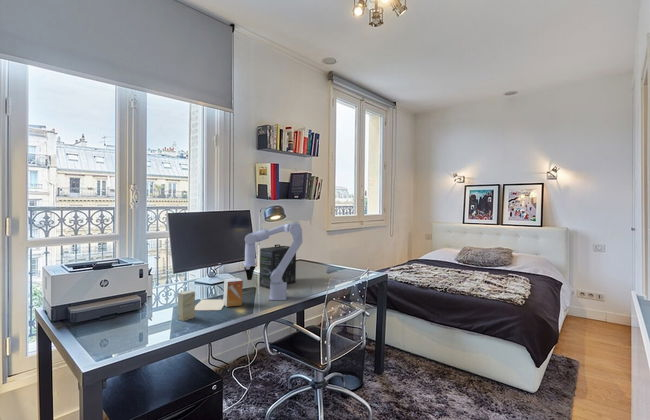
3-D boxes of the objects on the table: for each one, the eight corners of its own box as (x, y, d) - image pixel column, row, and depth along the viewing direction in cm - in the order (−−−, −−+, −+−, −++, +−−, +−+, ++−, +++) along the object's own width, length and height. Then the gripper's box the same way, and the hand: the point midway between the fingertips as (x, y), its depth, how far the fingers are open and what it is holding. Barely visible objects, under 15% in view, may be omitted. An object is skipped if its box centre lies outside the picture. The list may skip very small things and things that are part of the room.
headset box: (283, 279, 226) (283, 242, 226) (296, 282, 219) (296, 243, 219) (258, 286, 208) (259, 245, 207) (272, 289, 201) (272, 247, 200)
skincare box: (183, 321, 147) (183, 294, 147) (177, 319, 150) (177, 292, 149) (195, 317, 153) (195, 291, 152) (189, 315, 155) (189, 289, 155)
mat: (228, 299, 179) (228, 299, 179) (220, 310, 163) (220, 309, 163) (201, 300, 178) (201, 299, 178) (191, 310, 161) (191, 310, 161)
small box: (226, 307, 166) (227, 281, 166) (222, 303, 172) (223, 278, 171) (242, 305, 171) (243, 280, 171) (238, 301, 176) (239, 277, 176)
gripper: (245, 253, 189) (244, 276, 190) (240, 257, 175) (239, 282, 175) (257, 253, 190) (257, 276, 190) (253, 257, 175) (253, 283, 176)
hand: (249, 279), depth 183 cm, fingers closed
